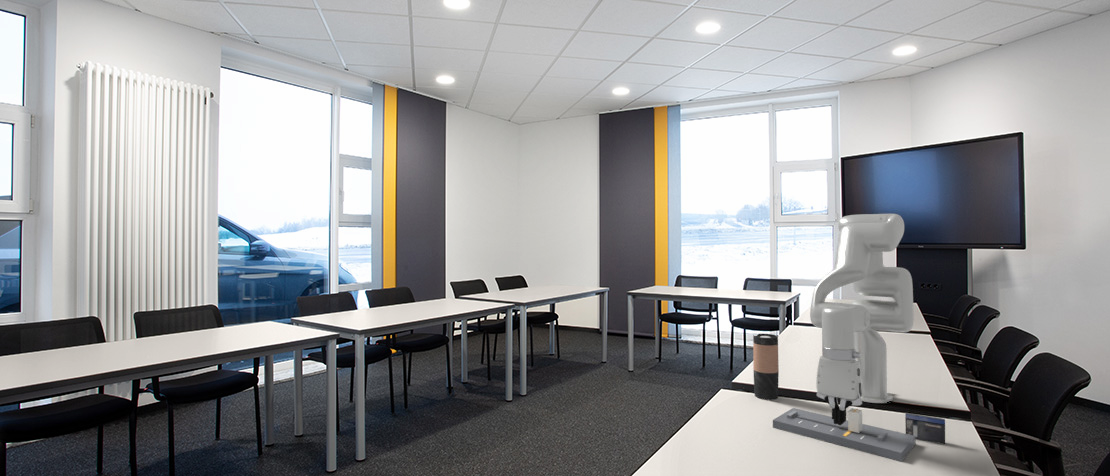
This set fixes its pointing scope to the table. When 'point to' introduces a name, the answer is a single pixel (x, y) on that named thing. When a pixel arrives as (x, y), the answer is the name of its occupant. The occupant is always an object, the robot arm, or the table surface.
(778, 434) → the table surface
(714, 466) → the table surface
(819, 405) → the table surface
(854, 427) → the fader
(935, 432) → the mini dv tape
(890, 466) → the table surface
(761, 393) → the travel mug
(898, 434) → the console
